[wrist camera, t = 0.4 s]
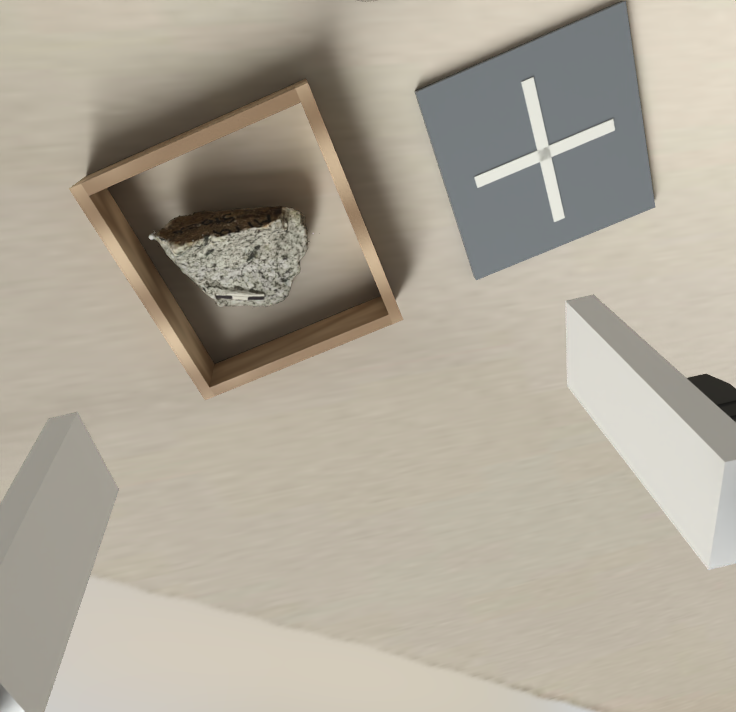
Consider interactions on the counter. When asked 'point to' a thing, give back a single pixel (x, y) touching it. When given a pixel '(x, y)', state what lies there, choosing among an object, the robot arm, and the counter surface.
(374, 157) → the counter surface
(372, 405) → the counter surface
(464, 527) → the counter surface
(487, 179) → the rest mat
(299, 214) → the rock sample
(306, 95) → the tray
